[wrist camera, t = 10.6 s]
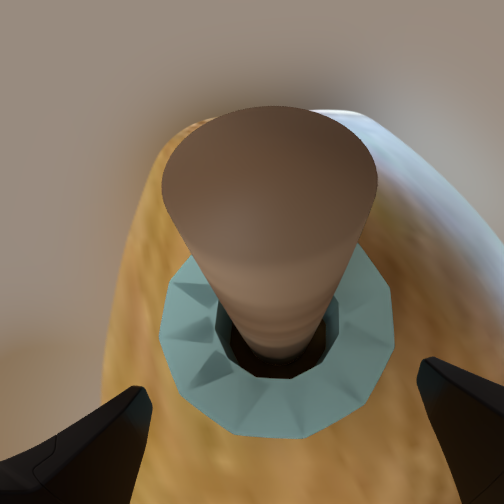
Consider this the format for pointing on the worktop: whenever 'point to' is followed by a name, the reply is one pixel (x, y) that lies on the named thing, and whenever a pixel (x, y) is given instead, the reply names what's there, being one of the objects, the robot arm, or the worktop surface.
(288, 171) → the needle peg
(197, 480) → the worktop surface
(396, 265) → the worktop surface
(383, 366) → the bead
